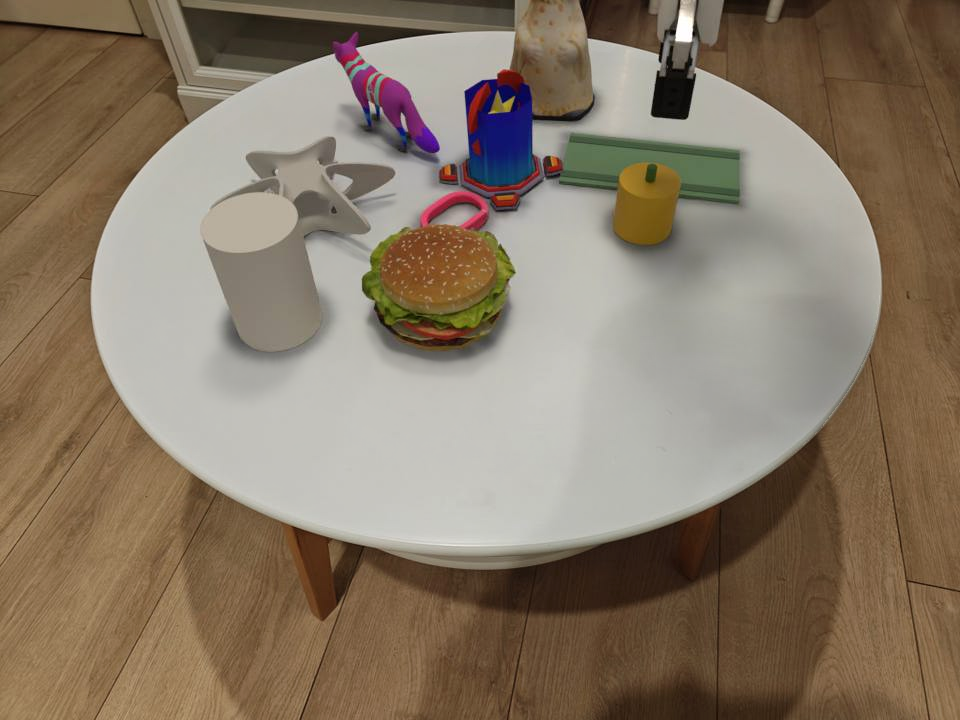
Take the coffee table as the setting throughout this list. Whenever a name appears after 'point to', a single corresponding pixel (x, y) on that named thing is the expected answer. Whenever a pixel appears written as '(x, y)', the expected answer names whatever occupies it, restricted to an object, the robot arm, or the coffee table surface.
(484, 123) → the fantasy tower
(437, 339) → the food
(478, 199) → the fitness band
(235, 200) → the beige solid cylinder
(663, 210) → the yellow stemmed cylinder
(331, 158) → the sculpture
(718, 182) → the green grooved tray
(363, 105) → the magenta toy fox
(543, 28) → the figurine
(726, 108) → the coffee table surface
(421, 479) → the coffee table surface
